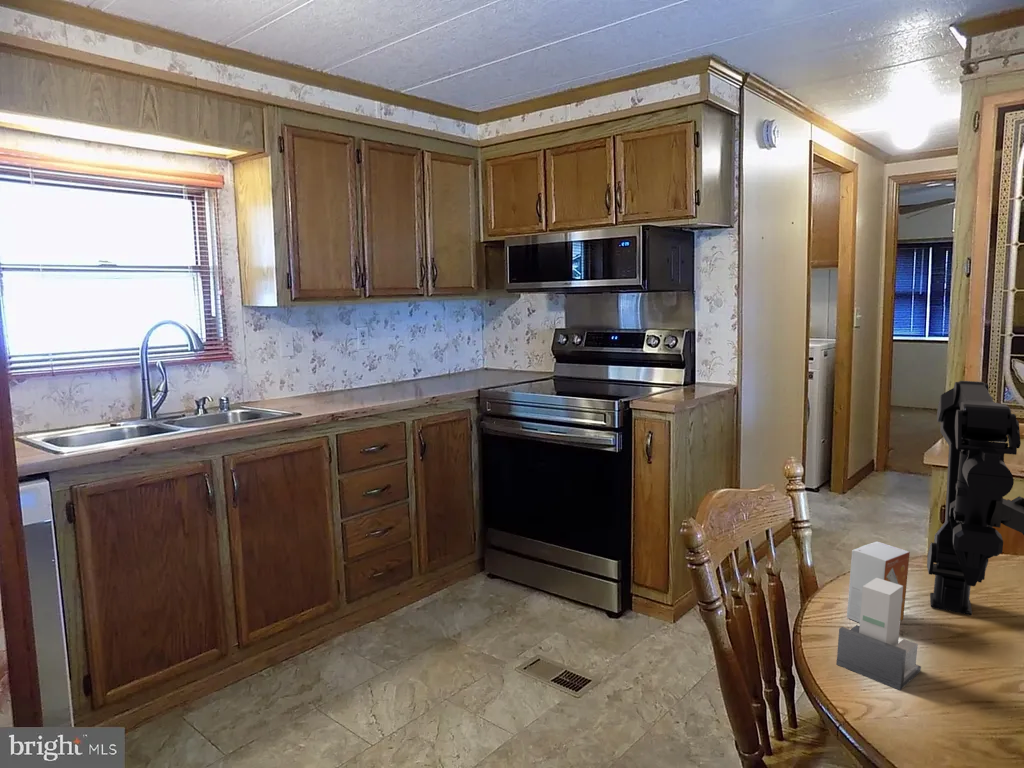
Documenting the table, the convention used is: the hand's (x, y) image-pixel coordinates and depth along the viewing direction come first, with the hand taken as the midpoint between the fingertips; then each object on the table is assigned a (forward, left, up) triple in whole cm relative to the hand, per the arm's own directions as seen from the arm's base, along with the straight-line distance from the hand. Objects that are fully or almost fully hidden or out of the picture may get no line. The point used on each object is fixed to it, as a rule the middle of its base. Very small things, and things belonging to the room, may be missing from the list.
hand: (969, 575), depth 115 cm
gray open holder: (+13, -12, -13) cm, 22 cm away
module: (+13, -12, -12) cm, 21 cm away
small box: (-5, -13, -13) cm, 19 cm away
